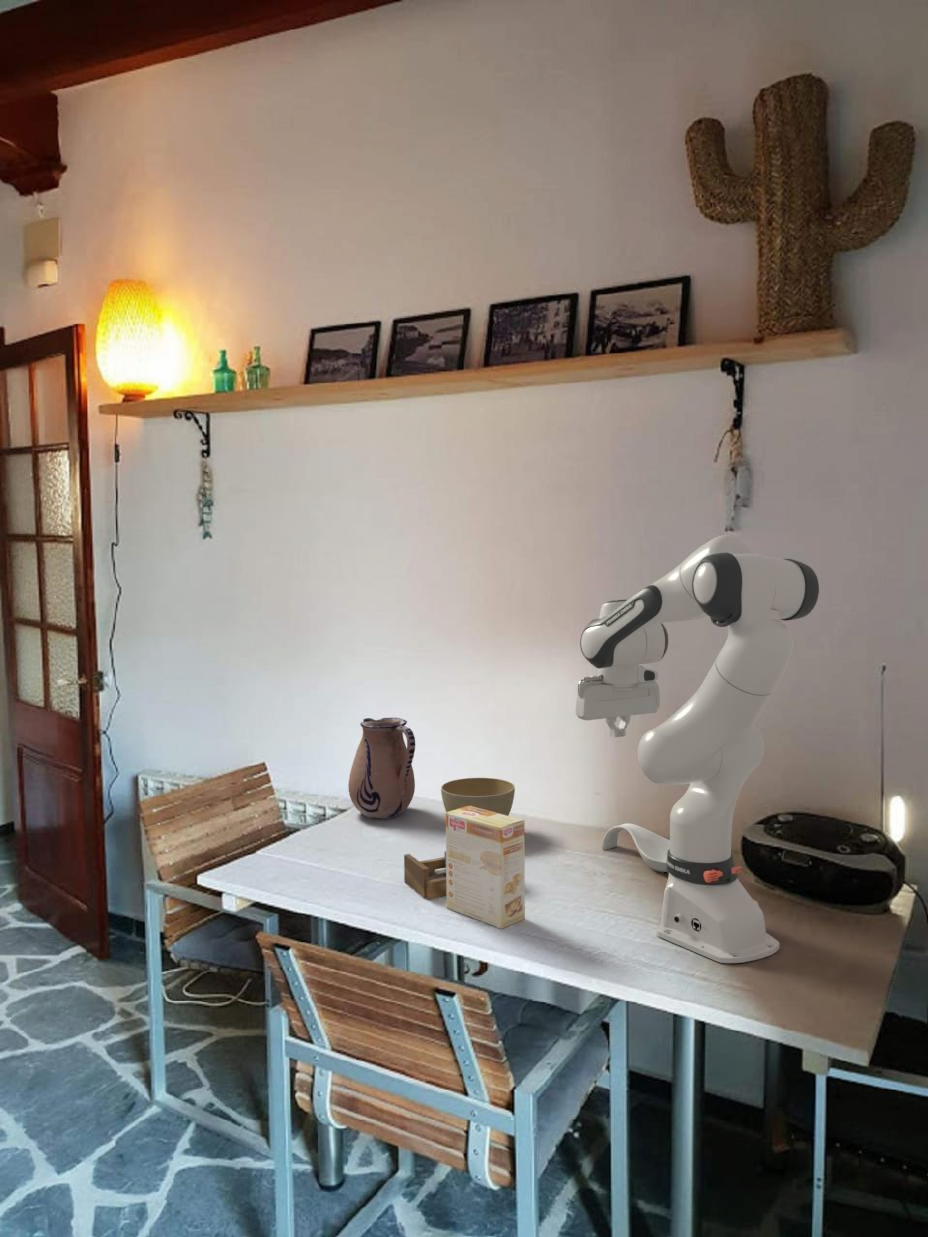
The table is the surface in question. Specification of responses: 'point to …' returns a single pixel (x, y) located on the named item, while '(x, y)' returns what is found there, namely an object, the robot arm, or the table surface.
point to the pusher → (442, 870)
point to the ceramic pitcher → (383, 769)
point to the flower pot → (479, 794)
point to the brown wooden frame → (425, 876)
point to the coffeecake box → (485, 865)
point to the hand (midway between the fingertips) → (617, 736)
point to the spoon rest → (642, 844)
